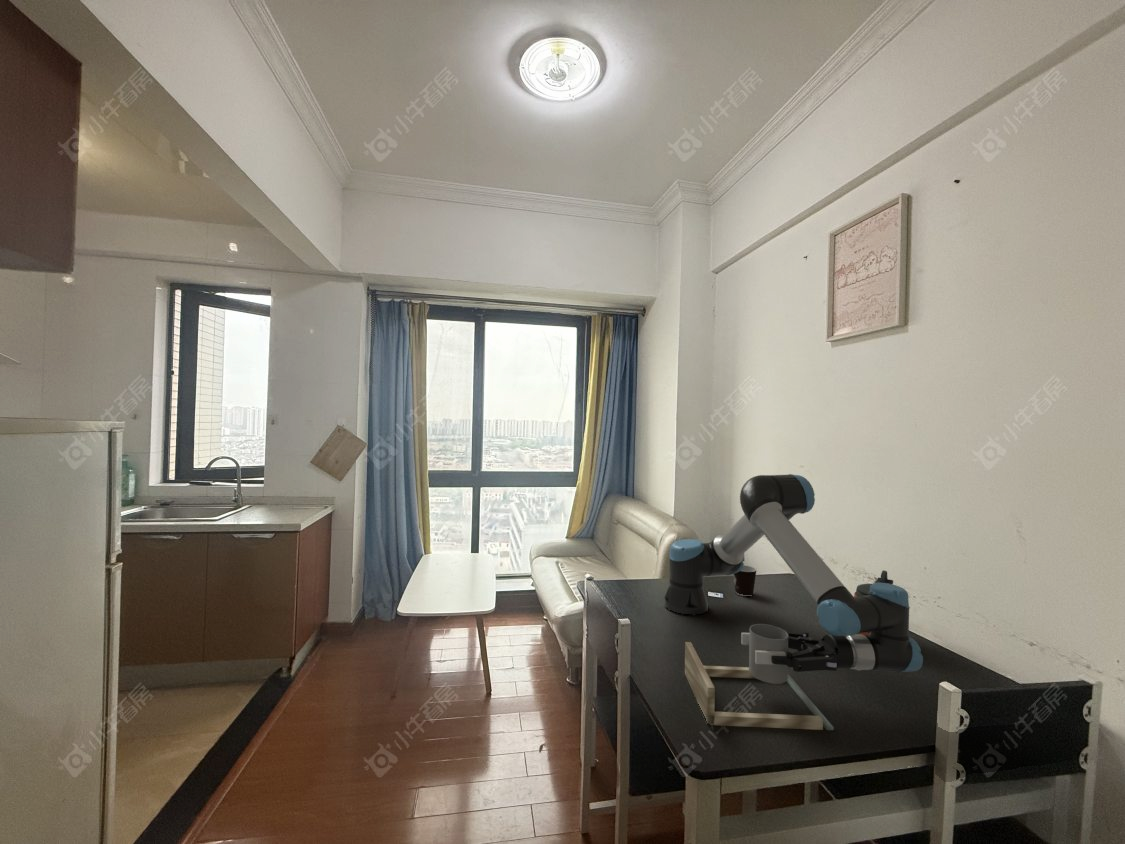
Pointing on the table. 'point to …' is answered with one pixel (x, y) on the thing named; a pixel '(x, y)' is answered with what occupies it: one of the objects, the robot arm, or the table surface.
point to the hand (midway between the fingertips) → (748, 647)
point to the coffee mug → (745, 580)
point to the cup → (767, 640)
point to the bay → (706, 701)
